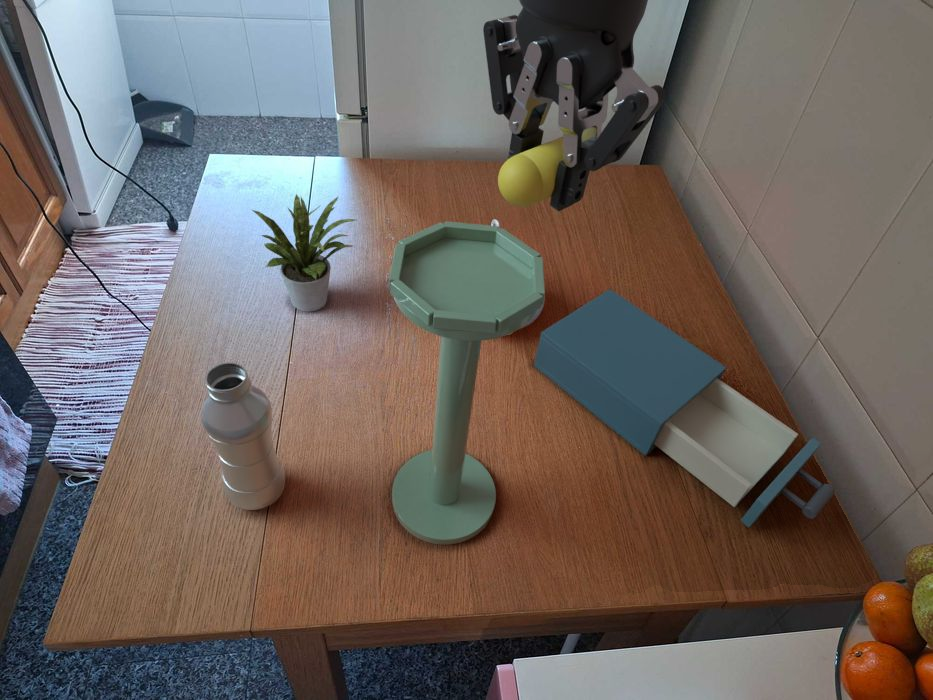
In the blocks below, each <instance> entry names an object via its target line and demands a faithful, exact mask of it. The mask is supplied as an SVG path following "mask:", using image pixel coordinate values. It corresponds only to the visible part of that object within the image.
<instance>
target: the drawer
mask: <svg viewBox="0 0 933 700" xmlns="http://www.w3.org/2000/svg"><path fill="white" fill-rule="evenodd" d="M798 436H799V433H797V432H796V431H794V429H792V428H791V427H789V426H788V425H786V424H785V423H783V422H782V421H780V420H779V419H777V418H775V416H773V415H771V414H770V413H768V412H767V411H766V410H764V409H763V408H761V407H760V406H758V405H757V404H756V403H754V402H753V401H752V400H750V399H749V398H747V397H745V396H744V395H743V394H741V393H739V392H738V391H736V390H735V389H734V388H732V387H731V386H730V385H728V384H727V383H725V382H724V381H723V380H722V379H720V380H719V379H718V378H717V379H716V380H715V381H713V382H712V383H711V384H710V385H709V386H708V387H706V388H705V389H704V390H703V391H702V392H701V393H699V394H698V395H697V396H696V397H695V398H694V399H693V400H691V401H690V402H689V403H688V404H687V405H686V406H684V407H683V408H682V409H681V410H680V411H679V412H678V413H676V414H675V415H674V416H673V417H672V418H671V419H669V420H668V421H667V422H666V423H665V424H664V425H663V427H662V429H661V431H660V433H659V435H658V437H657V439H656V441H655V443H654V444H655V445H656V446H657V447H656V448H658V449H659V450H661V451H662V452H663V453H665V454H666V455H667V456H668V457H669V458H671V459H672V460H674V462H676V463H677V464H678V465H680V466H681V467H682V468H683V469H685V470H686V471H687V472H688V473H690V474H692V476H694V477H695V478H696V479H698V480H699V481H700V482H701V483H703V484H704V485H705V486H707V487H708V488H709V489H710V490H711V491H713V492H714V493H715V494H717V496H719V497H720V498H721V499H723V500H724V501H726V503H728V504H729V505H730V506H732V507H733V508H735V507H736V506H737V505H738V504H739V503H741V501H742V500H743V499H744V498H745V497H746V496H747V495H748V494H749V492H751V491H752V489H753V488H754V487H755V486H757V484H758V483H759V482H760V481H761V479H763V478H764V476H766V474H767V473H768V472H769V471H770V470H771V469H772V468H773V466H775V464H777V462H778V461H779V460H780V459H781V458H782V457H783V456H784V454H785V453H786V452H787V451H788V449H789V448H790V447H791V445H792V444H793V443H794V441H795V440H796V438H797V437H798ZM821 445H822V442H821V441H819V440H818V439H816V438H815V437H811V438H810V440H809V441H808V442H807V443H806V444H805V445H804V446H803V447H802V448H801V449H800V451H798V453H797V454H796V455H795V456H794V457H793V458H792V459H791V461H790V462H789V463H788V464H787V465H786V466H785V467H784V468H783V470H781V471H780V473H779V474H777V476H776V477H775V478H774V479H773V480H772V482H771V483H770V484H769V485H768V486H767V487H766V488H765V489H764V491H762V493H761V494H760V495H759V496H758V497H757V498H756V499H755V501H754V502H753V503H752V504H751V506H750V508H748V510H747V511H746V512H745V514H744V515H743V517H741V519H740V522H741V523H742V524H743V525H744V526H746V527H747V528H751V526H752V525H753V524H754V523H755V522H756V521H757V520H758V519H759V518H760V516H761V515H762V514H763V513H764V512H765V511H766V510H767V508H769V506H770V505H771V504H772V503H773V502H774V500H775V499H776V498H777V497H778V496H779V495H780V494H782V495H783V496H784V497H785V498H787V499H788V500H789V501H790V502H792V503H794V504H795V505H796V506H798V507H799V508H800V509H801V512H802V514H803V516H805V517H806V518H807V519H810V520H811V519H815V518H816V517H817V516H818V515H819V513H820V512H821V511H822V510H823V508H824V507H825V506H826V505H827V504H828V503H829V501H830V500H831V498H832V497H833V496H834V494H835V493H836V489H835V488H834V487H833V486H832V485H831V484H830V483H822V482H820V481H818V480H817V479H816V478H815V477H813V476H812V475H811V474H809V473H808V472H806V471H805V470H804V469H803V468H804V467H805V465H806V464H807V462H808V461H810V459H811V457H812V456H813V455H814V454H815V452H817V450H818V449H819V448H820V446H821ZM796 475H798V476H799V477H800V478H801V479H803V480H804V481H806V482H807V483H809V484H810V485H812V487H814V488H815V489H817V490H816V491H815V493H814V494H813V495H812V496H811V498H810V499H809V500H808V501H807V502H805V501H804V500H803V499H802V498H800V497H799V496H797V495H796V494H795V493H793V492H792V491H791V490H789V489H788V488H786V487H787V486H788V484H789V483H790V482H791V481H792V480H793V479H794V477H796Z"/></svg>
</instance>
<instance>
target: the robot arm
mask: <svg viewBox="0 0 933 700" xmlns="http://www.w3.org/2000/svg"><path fill="white" fill-rule="evenodd" d="M518 1H519V4H520V5H521V6H522V8H521V11H519V14H518V15H517V14H512V15H508V16H504V17H499V18H496V19H492V20H488V21H485V22H484V23H483V29H482V31H483V32H482V33H483V40H484V48H485V56H486V62H487V63H486V64H487V71H488V80H489V89H490V96H491V97H490V98H491V104H492V109H493V111H494V113H495V114H496V115H497V116H502V115H503V116H504V117H505V118H506V119H507V120H508V127H509V130H510V132H511V137H510V143H509V149H508V156H507V160H508V159H509V158H511V157H512V156H514V155H517V154H519V153H522V152H524V151H527V150H529V149H532V148H534V147H537V146H539V145H542V144H543V143H542V142H543V137H544V132H545V130H543V129H541V128H540V126H543V125H544V123H545V121H546V119H547V116H548V114H549V112H550V109H551V108H552V107H551V106H552V104H553V102H554V103H555V104H556V105H557V106H558V111H557V112H558V115H557V116H558V117H557V126H558V129H559V130H560V131H562V137H563V153H562V158H563V160H562V161H560V162H559V164H558V168H557V173H556V178H555V185H554V189H553V192H552V196H551V197H550V201H549V206H550V207H551V208H552V209H554V210H555V211H557V212H561V211H563V210H565V209H567V208H569V207H571V206H573V205H574V204H575V205H576V203H579V202H580V201H581V200H582V199H583V197H584V195H585V190H586V187H587V184H588V180H589V175H590V173H589V172H596V171H598V170H600V169H602V168H603V167H605V166H607V165H611V164H612V163H616V162H618V161H620V160H621V159H622V158H623V157H624V155H625V154H626V153H627V152H628V150H629V149H630V148H631V146H632V145H633V143H634V142H635V141H636V139H638V137H639V136H640V135H641V133H642V132H643V130H644V129H645V128H646V126H647V125H648V124H649V122H651V120H652V119H653V117H654V116H655V115H656V113H658V111H659V110H660V109H661V107H662V105H663V104H664V103H665V101H666V91H665V89H664V88H663V87H662V86H661V85H659V84H654V85H652V86H649V85H648V84H647V83H646V82H645V81H644V79H642V77H641V76H640V75H639V74H638V73H637V72H636V70H634V65H635V53H634V38H635V35H636V31H637V30H638V28H639V26H640V24H641V22H642V20H643V18H644V16H645V13H646V10H647V6H648V2H649V0H518ZM508 76H509V83H510V90H511V91H510V92H508V84H507V78H508ZM614 88H616V91H617V92H616V93H617V94H616V97H615V99H614V103H613V104H612V105H611V110H612V112H613V113H614V114H613V116H612V117H611V118H610V120H608V122H607V124H606V125H605V127H604V128H603V130H602V127H603V124H604V123H605V122H606V120H607V116H608V108H609V107H608V105H609V93H610V92H611V91H612V90H614Z"/></svg>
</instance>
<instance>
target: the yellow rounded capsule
mask: <svg viewBox="0 0 933 700" xmlns="http://www.w3.org/2000/svg"><path fill="white" fill-rule="evenodd" d="M562 153H563V136H560V137H557V138H555V139H552V140H549V141H548V142H547V141H546V142H545V143H541V145H539V146H537V147H534V148H532V149H529V150H527V151H524V152H522V153H519V154H517V155H514V156H512V157H511V158H509V159H508V158H507V160H506V161H504V162H503V164H502V166H501V167H500V169H499V172H498V176H497V185H498V189H499V192H500V194H501V196H502V197H503V199H504V200H505V201H506V202H507V203H510V204H511V205H513V206H516V207H519V208H524V207H525V208H527V207H531V206H534V205H536V204H539V203H541V202H542V201H545V200H547V199H549V198H551V196H552V192H553V189H554V185H555V178H556V173H557V168H558V164H559V162H560V161H562V160H563V158H562ZM590 172H591V171H590ZM590 172H589V174H590Z"/></svg>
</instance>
